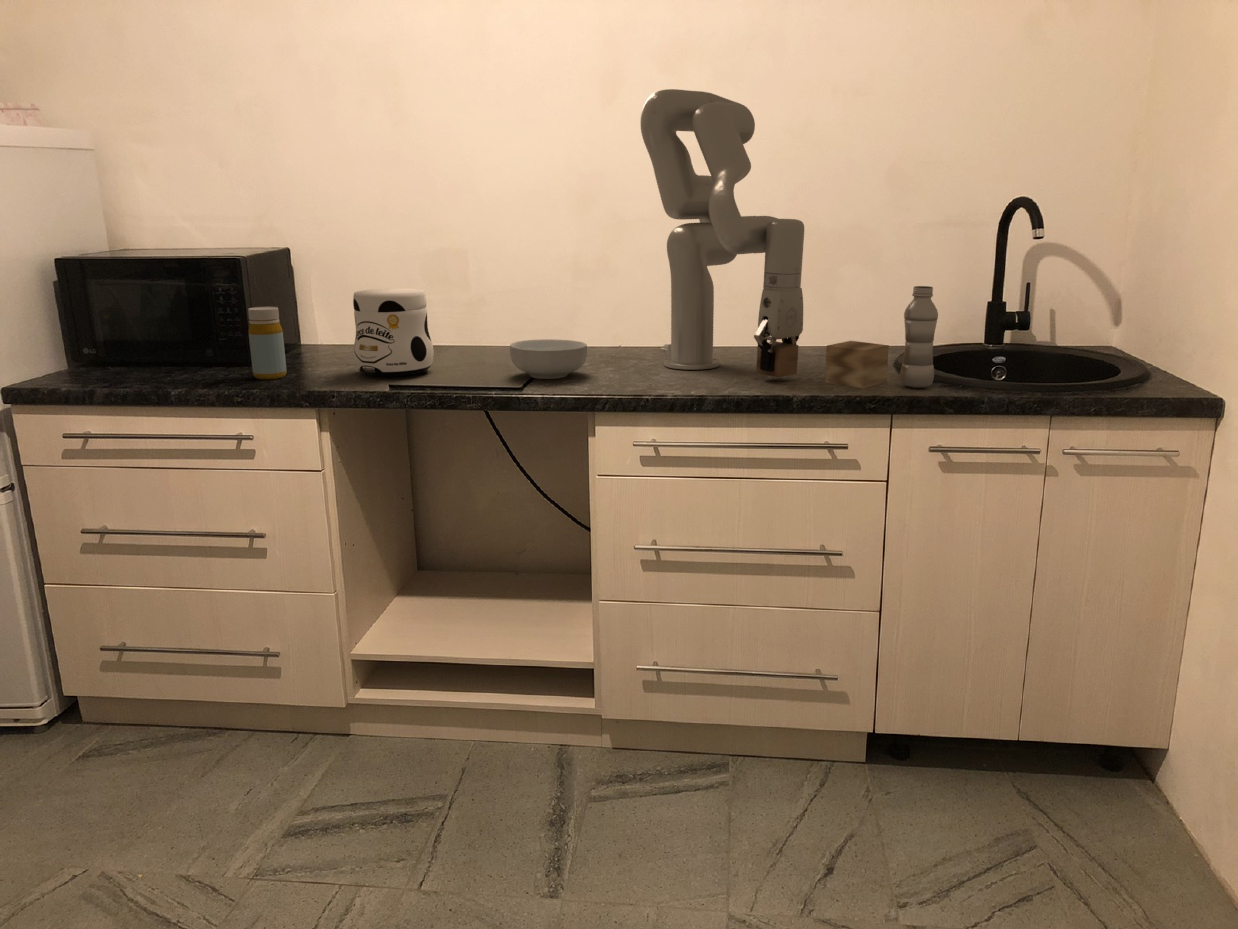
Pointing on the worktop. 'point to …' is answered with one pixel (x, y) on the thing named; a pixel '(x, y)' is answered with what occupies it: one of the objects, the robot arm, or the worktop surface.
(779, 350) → the walnut cube
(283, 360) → the bottle
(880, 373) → the tower base
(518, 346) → the cereal bowl
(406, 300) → the doce de leite jar
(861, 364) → the tower top
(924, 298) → the plastic bottle
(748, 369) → the worktop surface
